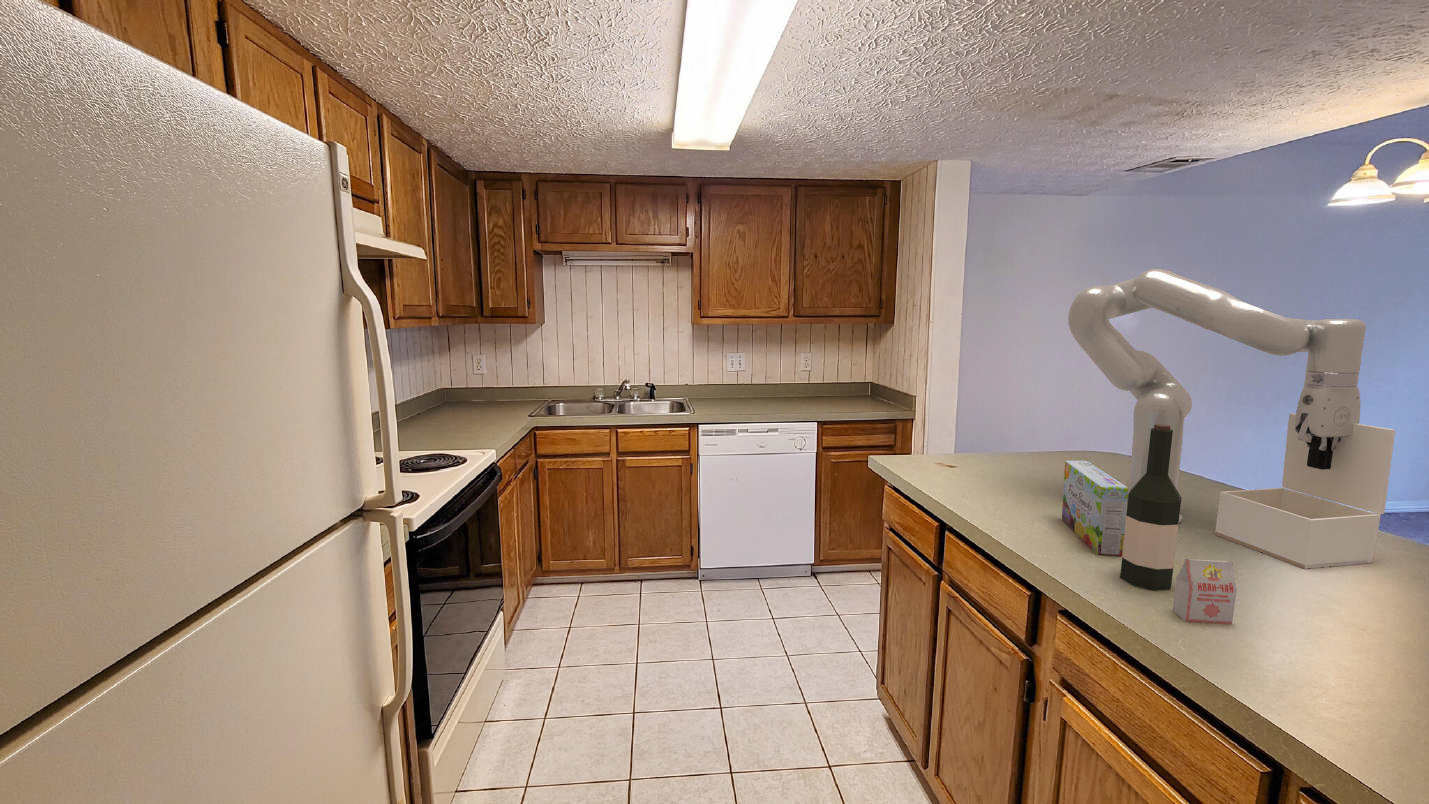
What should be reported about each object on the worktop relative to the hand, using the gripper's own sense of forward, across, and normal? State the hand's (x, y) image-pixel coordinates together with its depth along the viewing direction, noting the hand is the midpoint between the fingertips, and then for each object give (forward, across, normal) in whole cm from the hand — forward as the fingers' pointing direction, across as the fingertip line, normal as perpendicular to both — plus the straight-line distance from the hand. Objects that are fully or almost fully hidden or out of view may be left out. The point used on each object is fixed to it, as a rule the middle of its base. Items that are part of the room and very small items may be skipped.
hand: (1318, 467), depth 123 cm
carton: (+17, -4, 0) cm, 18 cm away
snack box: (+17, -40, +13) cm, 46 cm away
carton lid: (-1, +3, 0) cm, 4 cm away
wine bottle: (+17, -46, -8) cm, 50 cm away
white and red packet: (+18, -48, -21) cm, 55 cm away
